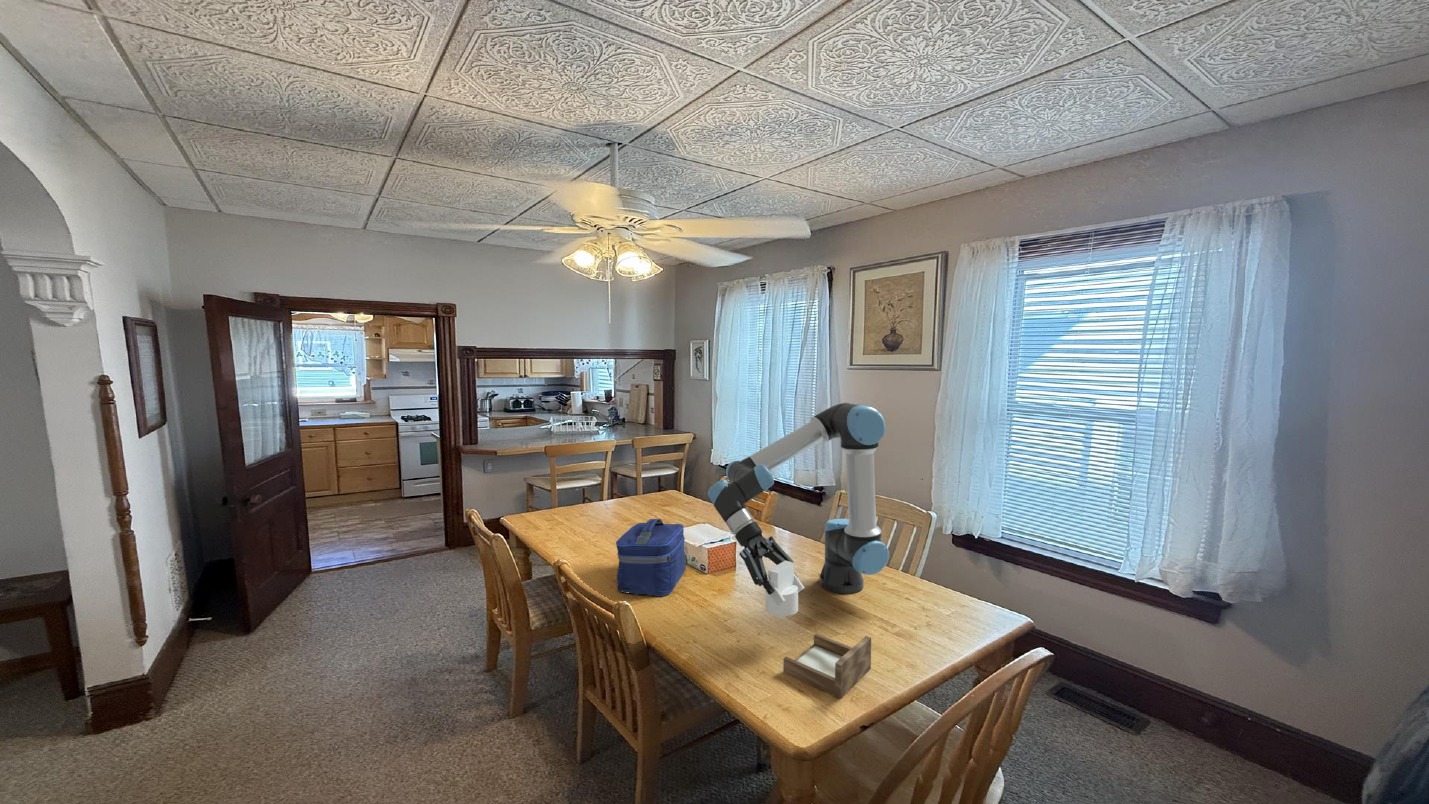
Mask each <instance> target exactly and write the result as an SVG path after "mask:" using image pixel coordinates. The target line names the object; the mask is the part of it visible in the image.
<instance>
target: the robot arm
mask: <svg viewBox="0 0 1429 804" xmlns="http://www.w3.org/2000/svg"><path fill="white" fill-rule="evenodd" d="M885 431H886V422H885V419H884V417H883V415H882V414H881V413H880V412H879V411H878V410H877V409H875V408H874V407H871V406H868V405H865V404H857V403H856V404H855V403H849V402H843V403H837V404H835V405H832V406H830V407H829V408H826V409H824V410H823V411H821V412H819V413H817V414H815V415H814V416H812V417H811V418H810V421H809V422H807V423H805V424H804V425H802V426H801V427H799V428H797V429H795V430H793V431H792V432H790V433H788V434H786V435H785V436H783V437H781V438H779V439H777V440H776V441H774V442H772V443H770V444H769V445H767V446H765V447H764V448H762V449H760V450H758V451H756V452H755V453H753V454H751V455H749V456H747V457H746V458H744V459H742V460H733V461H731V462H729V463H728V464H727V466H726V469H725V476H726V479H721V480H718V481H717V482H715V483H714V484H713V485H711V486H710V488H709V489H708V490H707V497H708V498H709V500H710V502H711V503H712V505H713V507H714V509H715V510H716V511H717V513H718V514H719V515H720V517H721V518H722V520H723V521H724V522H725V525H726V526H727V527H728V529H729V530H730V532H731V533H732V534H733V535H735V536H734V537H735V539H736V541H737V542H738V544H739V545H740V547H743V549H742V550H741V551H740V552H739V553H738V554H739V556H740V558H741V559H742V560H743V562H744V564H745V566H746V569H747V571H748V572H749V575H750V577H751V580H752V581H753V583H754V585H755V586H759V587H763V588H764V591H765V590H766V591H767V593H768V594H769V595H771V597H772V598H773V600H774V601H775V603H776V604H777V606H778V605H780V604H781V603H782V602H784V601H785V599H784V598H783V596H782V595H781V593H780V592H779V590H778V589H777V587H776V586H775V584H774V583H773V582H772V580H771V579H770V580H768V574H767V571H766V567H765V564H764V560H763V558H767V559H768V560H770V561H772V562H773V563H774V564H775V566H776V565H778V564H780V563H782V562H783V561H790V562H793V563H794V560H793V559H792V558H791V557H790V556H789V554H787V553H786V552H785V550H783V549H782V547H781V546H780V545H779V544H778V543H777V542H776V539H775V538H774V537H773V536H772V535H770V536H769V537H768V538H766V537H764V536H763V534H762V533H763V530H762V528H761V527H760V526H759V524H758V522H756V521H755V518H754V517H753V515H752V514H751V512H750V511H749V509H747V507H746V506H745V505H746V504H747V503H749V502H750V501H752V500H753V499H755V498H756V497H758V496H759V495H761V494H762V493H763V492H766V491H768V489H769V488H771V487H772V486H773V485H774V484H775V480H774V477H773V475H772V473H771V471H772V470H774V469H776V468H778V467H779V466H781V465H783V464H785V463H787V461H788V462H789V460H792V459H793V458H795V457H797V456H799V455H800V454H802V453H804V452H806V451H808V450H809V449H811V448H812V447H814V446H816V445H818V444H820V443H821V442H823V443H828V442H829V441H830V440H834V439H838V438H840V448H841V449H842V450H843V451H844V452H845V461H846V462H845V463H846V485H847V486H846V488H847V512H848V518H834V519H829V520H827V521H826V522H825V524H824V525H825V526H824V531H823V532H824V562H823V565H822V568H821V571H820V574H819V585H820V586H821V588H823V589H824V590H827V591H829V592H833V593H838V594H855V593H858V592H861V591H862V590H863V589H864V586H865V585H864V583H865V582H864V581H865V580H864V577H863V575H865V576H873V575H876V574H878V573H880V572H882V571H883V569H884V568H885V567H887V565H888V562H889V559H890V551H889V548H888V546H886V544H885V543H884V542H882V541H883V539H882V529H881V528H880V527H879V526H878V525H877V511H876V507H877V506H876V505H877V504H876V480H875V479H876V478H875V476H876V475H875V452H876V451H877V449H879V447H880V446H879V442H880V441H881V440H882V437H884V435H885ZM727 479H728V480H727ZM794 564H795V563H794ZM862 574H863V575H862ZM794 584H795V585H797V587H798V594H799V593H800V592H801V591H802V590H804V589H805V586H804V585H803V583H802V582H801V581H800V579H799V577H798V575H797V573H796V572H795V571H794Z"/></svg>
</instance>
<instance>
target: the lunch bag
mask: <svg viewBox="0 0 1429 804" xmlns="http://www.w3.org/2000/svg"><path fill="white" fill-rule="evenodd" d="M684 528H685V526H684V524H682V523H674V524H673V523H664V522H663V520H662V519H661V518H649V520H647V522H639V523H636V524H634V525H632V526H631V527H630V528H629V529H628V530H627V531H625V532H624V533H623V534H622V535H621V536H620V537H619V538H618V539H617V540H616V541H615V545H616V549H617V559H618V567H617V573H616V583H617V586H616V587H617V590H618V591H619V590H620V591H623V592H629V593H635V594H634V595H638V594H649V595H648V596H652V595H655V596H656V597H660V596H661V597H663V596H667V594H668V595H670V594H672V592H673V591H674V590H675V588H676V586H677V583H678V582H679V581H680V579H681V578H682V576H683V574H685V571H686V570H687V569H686V567H687V566H686V552H685V540H686V538H685V535H684V531H685V530H684ZM673 589H674V590H673ZM620 591H619V592H620Z"/></svg>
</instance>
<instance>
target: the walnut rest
mask: <svg viewBox="0 0 1429 804" xmlns="http://www.w3.org/2000/svg"><path fill="white" fill-rule="evenodd" d="M871 668H872V637H870V636H868V635H865V636H864V637H863V638H861V640H859V641H858V642H856V644H855V645H853V647H852V646H850V645H846V644H845V643H842V642H839V641H836V640H834V639H831V638H829V637H826V636H824V635H821V634H818V633H815V634H814V635H813V644H812V645H810V646H809V647H808V648H807V649H806V650H804V651H803V652H802V653H800V654H799V655H798V656H796V657H795V658H791V657H789V656H785V657H783V668H782V669H783V670H782V671H783V673H784V674H787V675H788V676H790V677H793V678H794V679H796V680H799V681H801V682H803V683H806V684H807V685H810V686H812V687H815V688H816V689H818V690H821V691H822V692H825V693H827V694H829V695H832V696H833V697H835V698H838V699H841V700H842V698H843V697H844V696H846V694H847V693H849V691H851V689H852V688H853V687H854V686H855V685H857V683H859V681H860V680H861V679H862V678H864V676H865V675H867V673H868V672H869V671H870V670H871Z"/></svg>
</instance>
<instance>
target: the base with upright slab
mask: <svg viewBox="0 0 1429 804" xmlns="http://www.w3.org/2000/svg"><path fill="white" fill-rule="evenodd" d="M793 562H794V561H793ZM793 562H790V561H783V562H782V563H780V564H778V565H776V564H775V566H773V567H771V568H770V569H768V571H767V572H768V574H767V577H768V580H770V579H771V580H772V582H773V583H774V584H775V586H776V587H777V589H778V590H779V592H780V593H781V595H782V596H783V598H784V599H785V601H784V602H782V603H781V604H780V605H778V606H777V604H776V603H775V601H774V600H773V598H772V597H771V595H769V594H768V593H767V591H766V590H765V589H764V591H765V593H764V594H765V596H764V597H765V610H766V612H767V613H769V614H770V615H772V616H776V617H791V616H793V615H795V614H797V613H798V611H799V593H798V587H797V585H795V584H794V572H795V563H793Z"/></svg>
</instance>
